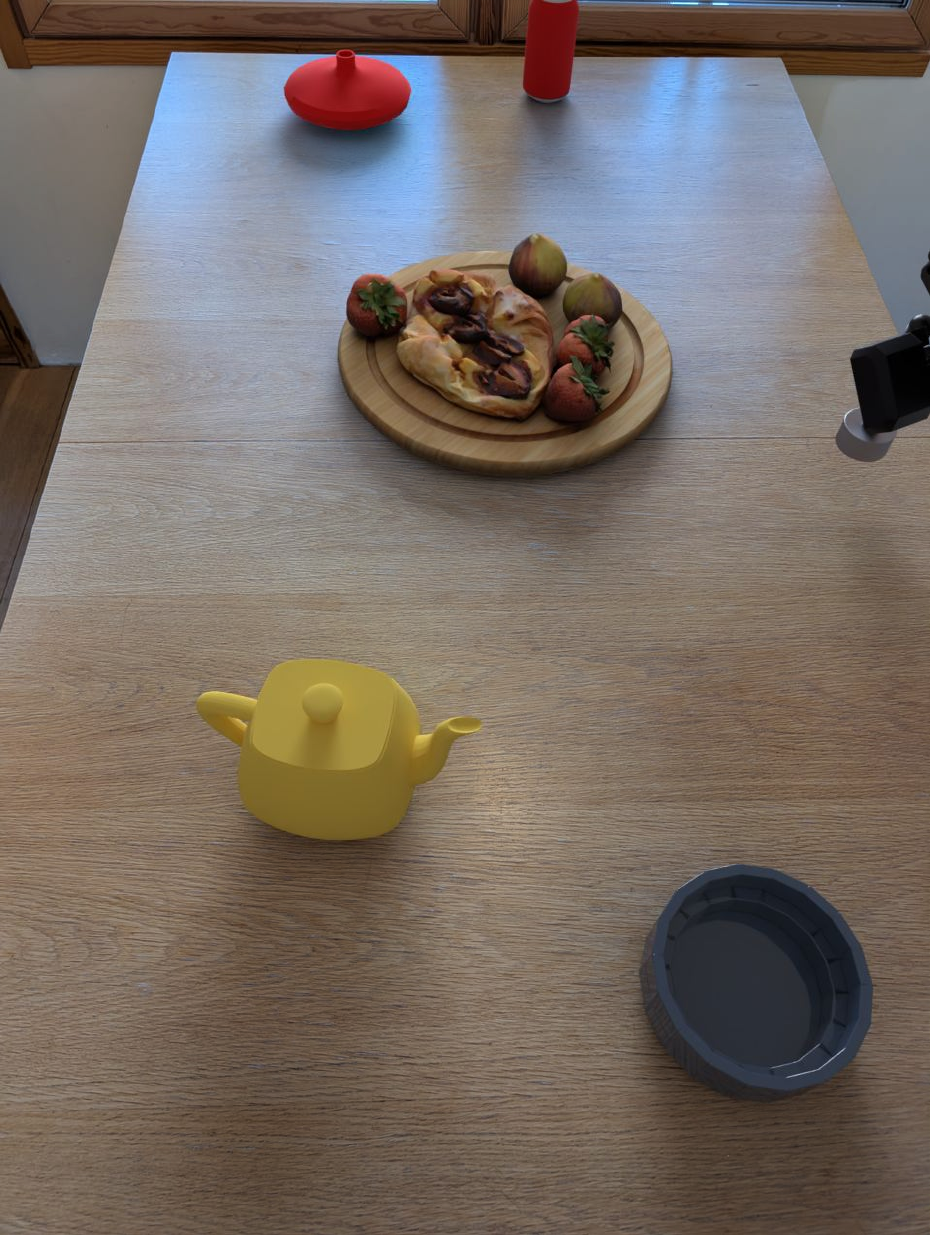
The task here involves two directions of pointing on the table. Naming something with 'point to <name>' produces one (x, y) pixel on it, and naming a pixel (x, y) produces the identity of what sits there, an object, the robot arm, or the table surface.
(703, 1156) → the table surface
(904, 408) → the robot arm
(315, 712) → the teapot
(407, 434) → the wooden plate
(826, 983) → the bowl
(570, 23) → the beverage can
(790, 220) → the table surface
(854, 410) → the coffee tamper
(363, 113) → the red vase
